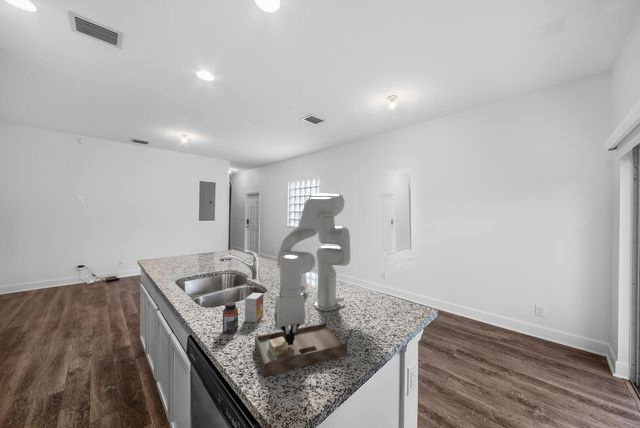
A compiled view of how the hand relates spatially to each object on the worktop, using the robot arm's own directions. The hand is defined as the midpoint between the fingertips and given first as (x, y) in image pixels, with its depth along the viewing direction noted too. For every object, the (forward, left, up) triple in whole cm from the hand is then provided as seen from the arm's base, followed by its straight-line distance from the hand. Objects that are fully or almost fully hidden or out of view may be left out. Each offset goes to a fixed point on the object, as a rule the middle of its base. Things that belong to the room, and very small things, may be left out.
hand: (289, 343), depth 86 cm
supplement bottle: (+18, -25, -4) cm, 31 cm away
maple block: (+4, +1, -1) cm, 5 cm away
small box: (+7, -33, -4) cm, 34 cm away
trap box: (-4, 0, -4) cm, 6 cm away
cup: (-22, -58, -4) cm, 62 cm away
